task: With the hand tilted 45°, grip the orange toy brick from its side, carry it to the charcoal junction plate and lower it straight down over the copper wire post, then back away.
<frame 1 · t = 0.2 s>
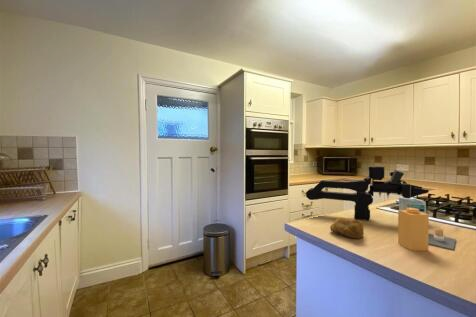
hand: (425, 189, 98), 17 cm above the counter, tool horizontal, fingers open, 9 cm apart
bread roll: (347, 235, 89), on the counter
light bulb box: (411, 220, 106), on the counter
orange toy brick: (412, 246, 77), on the counter
junction plate: (438, 241, 81), on the counter
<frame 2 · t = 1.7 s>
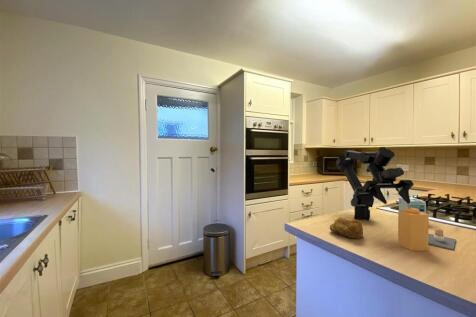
hand: (397, 203, 85), 14 cm above the counter, tool tilted 45°, fingers open, 9 cm apart
nothing on the counter moved.
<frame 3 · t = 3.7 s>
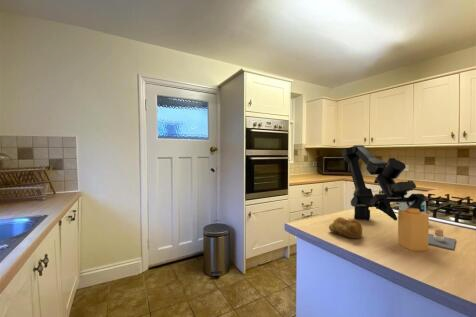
hand: (409, 219, 78), 9 cm above the counter, tool tilted 45°, fingers open, 9 cm apart
nothing on the counter moved.
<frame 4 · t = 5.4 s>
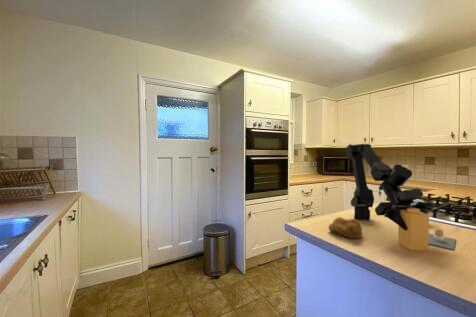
hand: (415, 229, 75), 7 cm above the counter, tool tilted 45°, fingers closed on orange toy brick, 6 cm apart
orange toy brick: (412, 246, 77), on the counter, touching gripper
everything else where it was.
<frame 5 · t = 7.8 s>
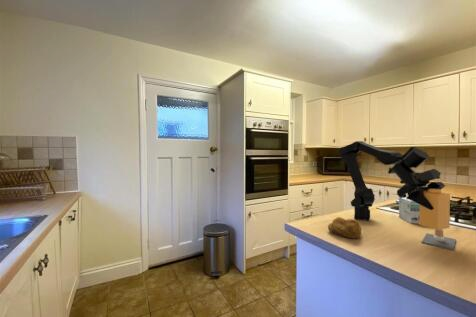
hand: (438, 208, 77), 13 cm above the counter, tool tilted 45°, fingers closed on orange toy brick, 6 cm apart
orange toy brick: (433, 226, 79), point 7 cm above the counter, touching gripper
everything else where it was.
when the fingers open (8 cm above the counter, at t = 10.3 s): orange toy brick stays where it is, resting on junction plate.
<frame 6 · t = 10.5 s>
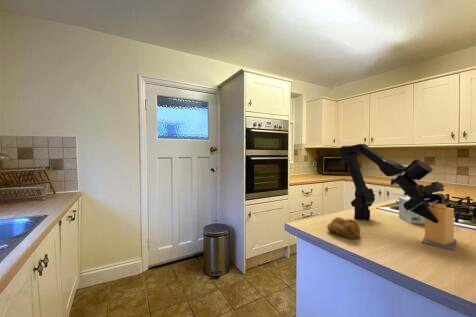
hand: (443, 221, 79), 8 cm above the counter, tool tilted 45°, fingers open, 8 cm apart
orange toy brick: (438, 240, 80), resting on junction plate
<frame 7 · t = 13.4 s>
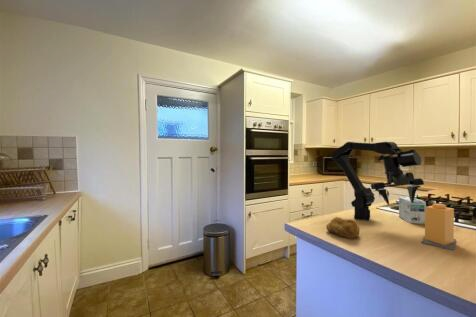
hand: (400, 203, 94), 11 cm above the counter, tool pointing down, fingers open, 9 cm apart
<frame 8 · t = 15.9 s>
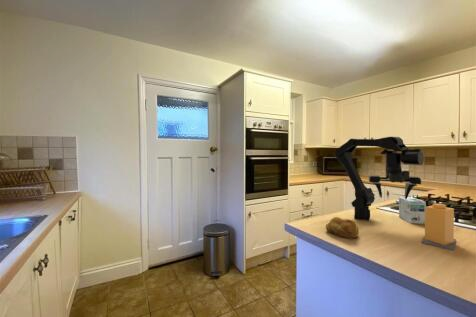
hand: (393, 198, 97), 13 cm above the counter, tool pointing down, fingers open, 9 cm apart
at the end: orange toy brick 0.0 cm off-centre on the junction plate, point 0.5 cm above the junction plate's base; orange toy brick tilted 0°; the gripper is holding nothing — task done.
